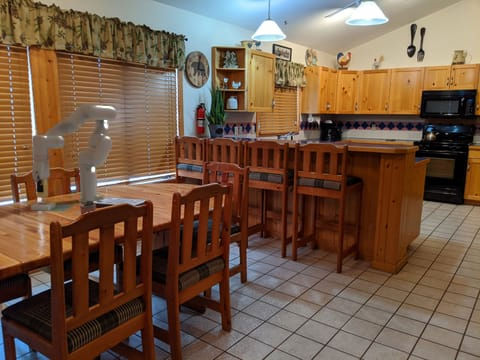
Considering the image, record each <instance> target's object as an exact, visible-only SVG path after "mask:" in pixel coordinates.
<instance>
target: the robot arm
mask: <svg viewBox="0 0 480 360" xmlns="http://www.w3.org/2000/svg"><path fill="white" fill-rule="evenodd" d="M117 112H118V111H117V110H116V109H115V107H113V106H109V105H99V104H81V105H79V106H78V107H77V108H76V109H75V110H74V111H73V112H72V113H71V114H70V115H69V116H68V117H67V118H66V119H64V120H62V121H60V122H58V123H57V124H55V125H54V126H52V127H51V128H50V129H48V131H46V132H45V133H44V134H43V135H41V134H35V135H33V136H32V160H33V162H32V173H31V174H32V180H33V182H35V183H36V184H35V185H36V193H37V192H43V185H42V183H43V179H47V180H48V181H49V178H50V177H51V176H50V171H51V170H50V150H49V149H55V150H56V149H61V148H63V147H64V146H65V144H66V141H65V140H66V139H65V138H64V137H65V135H68V134H71V133H74V132H77V131H79V129H80V128H81V127H83V126H84V124H85V123H86V122H88V121H89V120H94V121H95V127H94V129H93V131H92V133H91V135H90V137H89V138H88V141H87V147H88V148H89V149H84V150H82V151H80V152H79V153H78V154H77V163H78V168H79V180H80V181H79V182H80V184H79V186H80V199H78V200H77V201H78V202H79V203H82V202H83V201H87V200H89V201H92V200H93V201H94V203H97V202H100V201H101V200H105V196H104V195H100V193H98V172H97V169H96V168H101V167H102V166H103V165H104V164H105V162H106V161H107V158H108V156H109V154H110V152H111V151H112V148H113V140H112V138H111V137H110V136H108V135H109V133H110V130H111V129H110V124H109V123H110V121H113V120H115V119H116V117H117V115H118V113H117ZM90 149H91V150H90ZM39 180H41V182H40V181H39Z"/></svg>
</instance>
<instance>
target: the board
mask: <svg viewBox="0 0 480 360" xmlns="http://www.w3.org/2000/svg"><path fill="white" fill-rule="evenodd" d="M74 206H75V204H74V205H73V204H56V202H54V201H53V202H51V201H48V202H46V201H38V202H36V203H33V204H32V205H30V210H31V211H36V212H37V211H38V212H39V211H40V212H65V211H68V209H71V208H72V207H74Z"/></svg>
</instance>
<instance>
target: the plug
mask: <svg viewBox="0 0 480 360" xmlns="http://www.w3.org/2000/svg"><path fill="white" fill-rule="evenodd" d="M39 181H40V182H41V180H39ZM48 184H49V179H48V180H47V179H43V183H42V185H43V192H37V191H36V198H40V199H41V198H43V199H44V198H48V197H49V185H48Z"/></svg>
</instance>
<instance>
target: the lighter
mask: <svg viewBox="0 0 480 360" xmlns="http://www.w3.org/2000/svg"><path fill="white" fill-rule="evenodd" d="M96 206H97V204H95V202H94V201H93V200H92V201H89V200H87V201H83V202H81V206H80V207H79V208H80V215H81V214H84V213H86V212H90V211H94V210H96V211H97V207H96Z"/></svg>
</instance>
